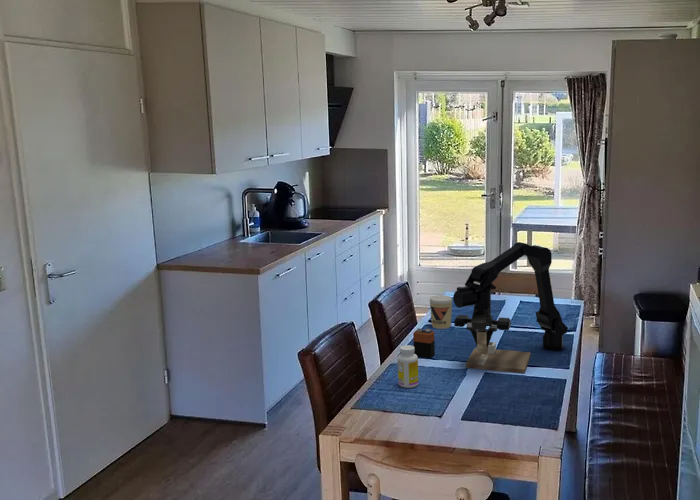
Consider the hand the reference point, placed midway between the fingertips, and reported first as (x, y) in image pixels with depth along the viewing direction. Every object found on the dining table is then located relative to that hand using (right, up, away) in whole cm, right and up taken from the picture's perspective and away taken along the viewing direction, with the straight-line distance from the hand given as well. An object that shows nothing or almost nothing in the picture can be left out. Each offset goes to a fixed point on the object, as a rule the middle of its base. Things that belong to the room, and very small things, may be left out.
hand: (482, 345), depth 245 cm
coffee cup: (-8, +2, +45) cm, 46 cm away
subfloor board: (+6, -6, +3) cm, 9 cm away
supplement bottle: (-27, -11, -13) cm, 32 cm away
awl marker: (0, -2, 0) cm, 2 cm away
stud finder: (+3, -3, +9) cm, 10 cm away
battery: (-19, -5, +13) cm, 23 cm away
